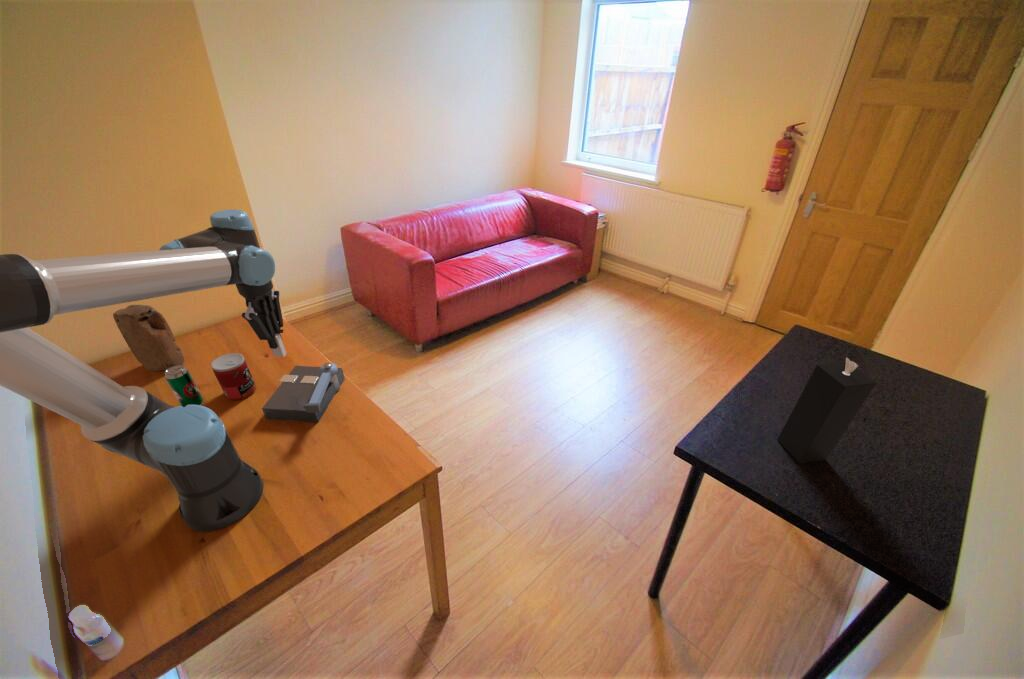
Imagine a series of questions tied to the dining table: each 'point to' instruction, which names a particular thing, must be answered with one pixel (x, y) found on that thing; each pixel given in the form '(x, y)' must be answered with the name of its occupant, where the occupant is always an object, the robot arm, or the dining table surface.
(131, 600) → the dining table surface
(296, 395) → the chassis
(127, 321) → the brown rough lump
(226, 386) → the canned food
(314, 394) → the swing bar
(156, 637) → the dining table surface
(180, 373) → the soda can
